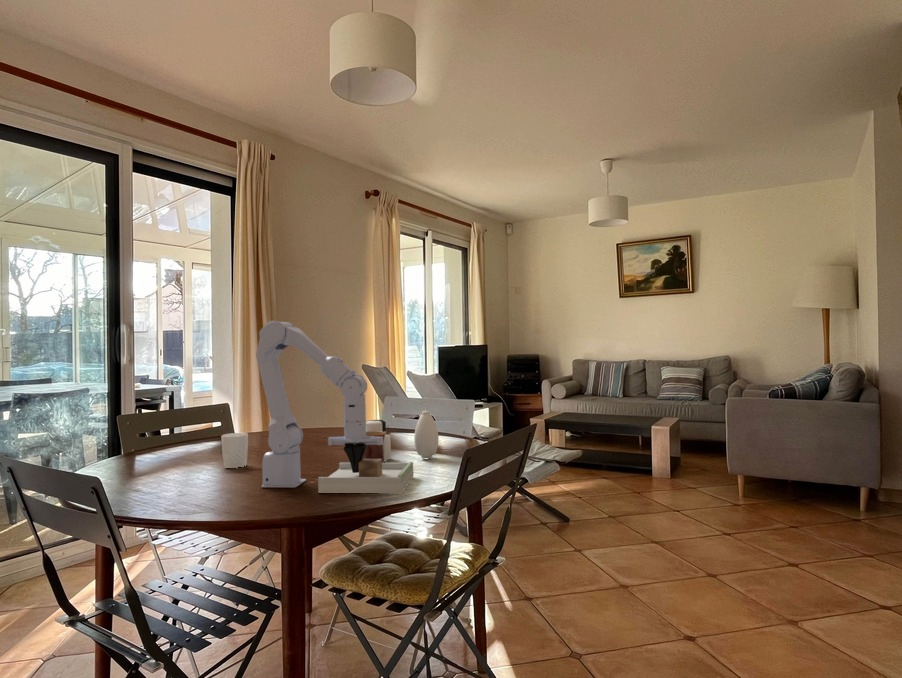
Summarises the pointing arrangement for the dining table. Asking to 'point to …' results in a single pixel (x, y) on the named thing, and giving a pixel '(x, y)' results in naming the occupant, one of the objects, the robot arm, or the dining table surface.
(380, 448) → the mug
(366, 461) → the block
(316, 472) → the dining table surface
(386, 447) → the container
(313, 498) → the dining table surface
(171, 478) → the dining table surface
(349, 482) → the tray
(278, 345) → the robot arm
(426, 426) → the sauce bottle
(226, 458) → the white cup
